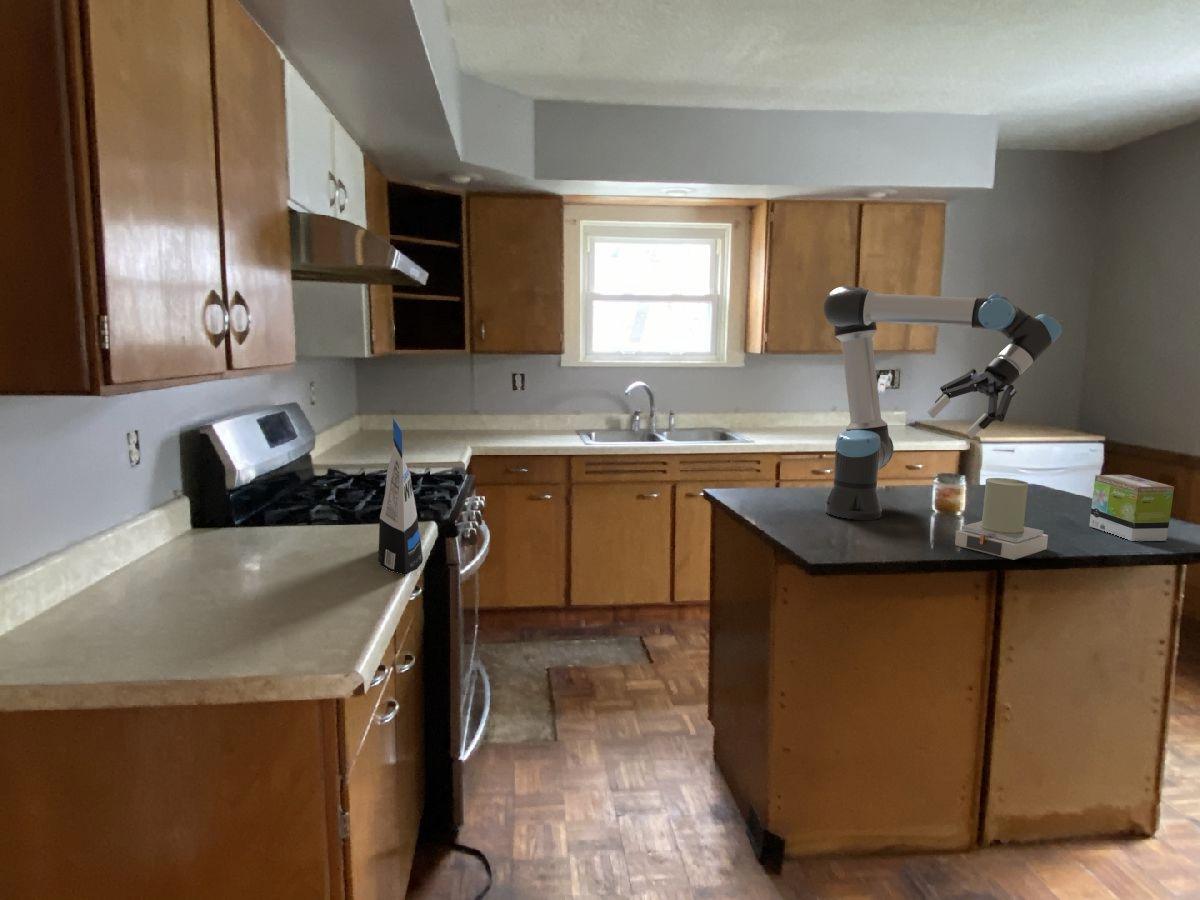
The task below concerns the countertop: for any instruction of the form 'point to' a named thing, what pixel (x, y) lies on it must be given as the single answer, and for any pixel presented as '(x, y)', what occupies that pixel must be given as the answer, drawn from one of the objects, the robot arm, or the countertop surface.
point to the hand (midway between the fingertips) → (948, 424)
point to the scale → (1001, 545)
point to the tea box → (1131, 507)
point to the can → (1004, 505)
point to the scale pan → (1002, 533)
